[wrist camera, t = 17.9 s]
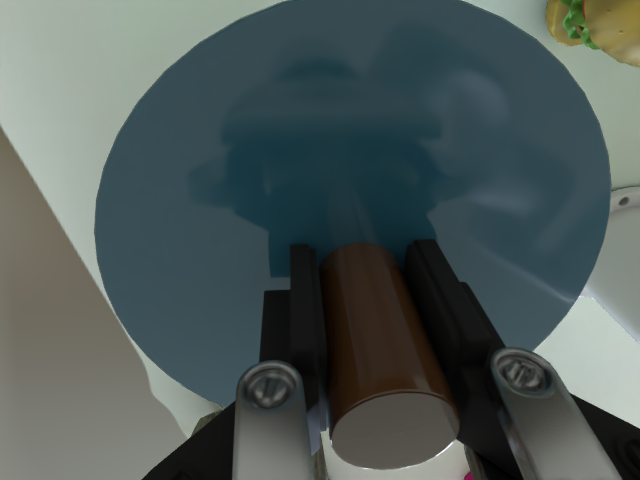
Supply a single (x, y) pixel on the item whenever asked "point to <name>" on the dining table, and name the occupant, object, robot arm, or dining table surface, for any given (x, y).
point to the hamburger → (598, 26)
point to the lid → (352, 201)
